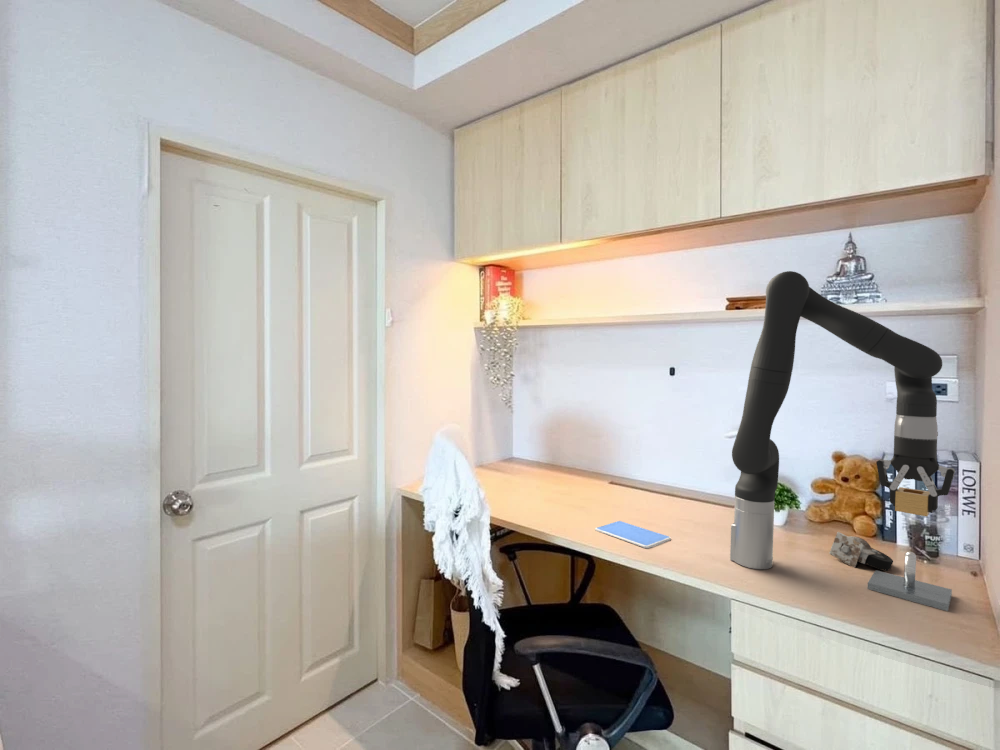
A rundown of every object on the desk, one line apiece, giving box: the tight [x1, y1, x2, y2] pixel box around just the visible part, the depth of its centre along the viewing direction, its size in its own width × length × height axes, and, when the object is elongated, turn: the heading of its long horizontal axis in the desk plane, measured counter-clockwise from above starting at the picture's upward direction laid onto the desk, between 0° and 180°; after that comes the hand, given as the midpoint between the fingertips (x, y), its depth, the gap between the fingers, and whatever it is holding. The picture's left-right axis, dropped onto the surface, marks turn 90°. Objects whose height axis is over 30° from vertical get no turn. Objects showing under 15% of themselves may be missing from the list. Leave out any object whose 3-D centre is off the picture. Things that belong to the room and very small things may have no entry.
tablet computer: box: [594, 520, 672, 549], centre depth 150 cm, size 19×13×1 cm, turn 38°
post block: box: [867, 551, 953, 612], centre depth 114 cm, size 14×10×10 cm
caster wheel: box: [829, 531, 894, 572], centre depth 130 cm, size 7×11×10 cm
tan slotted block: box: [894, 486, 930, 517], centre depth 113 cm, size 6×6×4 cm
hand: (913, 508), depth 113 cm, fingers closed on tan slotted block, 5 cm apart
